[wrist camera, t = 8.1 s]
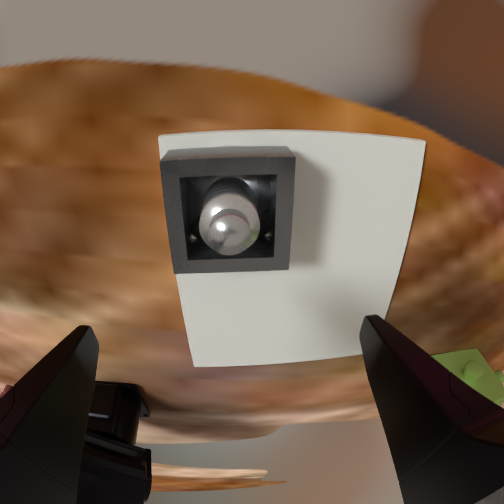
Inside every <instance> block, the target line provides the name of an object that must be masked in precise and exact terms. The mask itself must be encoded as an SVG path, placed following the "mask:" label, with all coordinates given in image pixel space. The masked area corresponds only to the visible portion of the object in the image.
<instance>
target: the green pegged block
mask: <svg viewBox="0 0 504 504" xmlns="http://www.w3.org/2000/svg"><path fill="white" fill-rule="evenodd" d="M432 357H433V358H434V359H435V360H437V361H438V362H439V363H440V364H442V365H443V366H444V367H446V368H447V369H448V370H449V372H452V373H453V374H454V375H456V376H457V377H458V378H460V379H461V380H462V381H464V382H465V383H466V384H467V385H469V386H470V387H472V388H473V389H475V390H476V391H478V392H479V393H480V394H482V395H484V396H485V397H487V398H488V399H490V400H491V401H493V402H494V403H496V404H497V405H499V406H500V405H501V404H502V403H503V401H504V386H503V385H502V382H504V375H503V374H502V372H501V371H500V370H499V369H498V370H497V371H496V372H494V371H493V370H492V368H491V367H490V366H489V364H488V363H487V361H486V360H485V359H484V357H483V356H482V355H481V353H480V352H479V351H478V349H467V350H460V351H454V352H448V353H443V354H437V355H432Z"/></svg>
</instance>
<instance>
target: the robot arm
mask: <svg viewBox="0 0 504 504" xmlns="http://www.w3.org/2000/svg"><path fill="white" fill-rule="evenodd" d="M359 340H360V344H361V349H362V353H363V358H364V363H365V367H366V372H367V376H368V380H369V383H370V386H371V389H372V392H373V396H374V399H375V402H376V405H377V408H378V411H379V415H380V418H381V421H382V424H383V428H384V431H385V434H386V437H387V441H388V444H389V448H390V451H391V455H392V459H393V462H394V465H395V469H396V473H397V477H398V481H399V485H400V489H401V493H402V497H403V501H404V504H504V409H503V408H502V407H500V406H499V405H497V404H496V403H494V402H493V401H491V400H490V399H488V398H487V397H485V396H484V395H482V394H480V393H479V392H478V391H476V390H475V389H473V388H472V387H470V386H469V385H467V384H466V383H465V382H464V381H462V380H461V379H460V378H458V377H457V376H456V375H454V374H453V373H452V372H449V370H448V369H447V368H446V367H444V366H443V365H442V364H440V363H439V362H438V361H437V360H435V359H434V358H433V357H432V356H430V355H429V354H428V353H426V352H425V351H424V350H423V349H421V348H420V347H419V346H418V345H416V344H415V343H414V342H412V341H411V340H410V339H409V338H407V337H406V336H405V335H403V334H402V333H401V332H399V331H398V330H397V329H396V328H394V327H393V326H392V325H390V324H389V323H388V322H386V321H385V320H384V319H383V318H381V317H380V316H379V315H377V314H372V315H366V316H365V317H364V319H363V322H362V326H361V329H360V333H359ZM98 353H99V343H98V340H97V338H96V336H95V334H94V331H93V329H92V327H91V326H87V325H80V326H78V327H77V328H76V329H75V330H73V331H72V332H71V333H70V334H69V335H68V336H67V337H66V338H64V339H63V340H62V341H61V342H60V343H59V344H58V345H57V346H56V347H54V348H53V349H52V350H51V351H50V352H49V353H48V354H47V355H46V356H45V357H44V358H42V359H41V360H40V361H39V362H38V363H37V364H36V365H35V366H34V367H33V368H32V369H31V370H30V371H28V372H27V373H26V374H25V375H24V376H23V377H22V378H21V379H20V380H19V381H18V382H17V383H16V384H15V385H14V386H13V387H12V388H11V389H10V390H9V391H7V392H6V393H5V394H4V395H3V396H2V397H1V398H0V504H144V502H146V501H147V499H148V497H149V494H150V490H151V483H152V474H151V450H150V449H144V448H140V447H137V446H135V444H136V437H137V430H138V424H139V417H150V412H149V410H148V408H147V406H146V404H145V402H144V400H143V398H142V396H141V394H140V392H139V390H138V388H137V386H135V385H132V384H118V383H106V382H95V377H96V369H97V361H98Z"/></svg>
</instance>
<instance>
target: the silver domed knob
mask: <svg viewBox="0 0 504 504" xmlns="http://www.w3.org/2000/svg"><path fill="white" fill-rule="evenodd" d="M234 146H235V145H226V146H218V147H234ZM270 177H271V174H262V175H222V176H198V177H187V190H188V202H189V213H190V224H191V234H192V235H193V236H194V237H196V238H202V239H203V240H204V242H205V243H206V244H207V245H208V246H209V247H211V248H212V249H214V250H215V251H217V252H218V253H220V254H223V255H236V254H239V253H241V252H243V251H244V250H245V249H247V248H248V247H250V246H251V245H252V244H253V243H254V242H255V240H256V239H257V237H258V236H265V235H266V234H267V233H268V232H269V216H270Z"/></svg>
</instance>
